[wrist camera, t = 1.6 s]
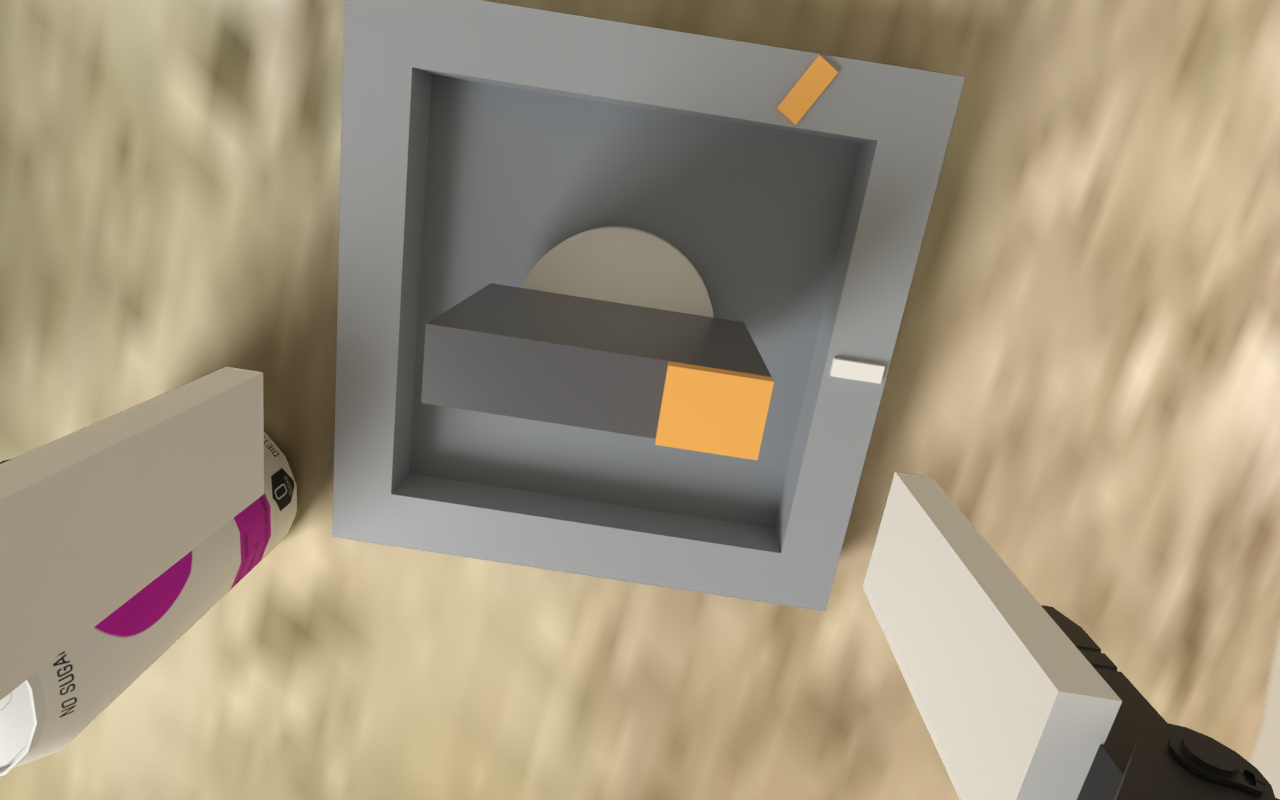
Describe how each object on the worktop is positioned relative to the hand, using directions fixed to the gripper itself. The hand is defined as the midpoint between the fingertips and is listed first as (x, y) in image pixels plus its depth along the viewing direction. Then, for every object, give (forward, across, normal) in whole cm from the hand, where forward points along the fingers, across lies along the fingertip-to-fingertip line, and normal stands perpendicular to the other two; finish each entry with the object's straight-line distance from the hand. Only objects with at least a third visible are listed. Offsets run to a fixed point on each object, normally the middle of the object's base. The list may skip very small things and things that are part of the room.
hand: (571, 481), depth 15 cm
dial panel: (+18, 0, 0) cm, 18 cm away
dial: (+16, 0, 0) cm, 16 cm away
